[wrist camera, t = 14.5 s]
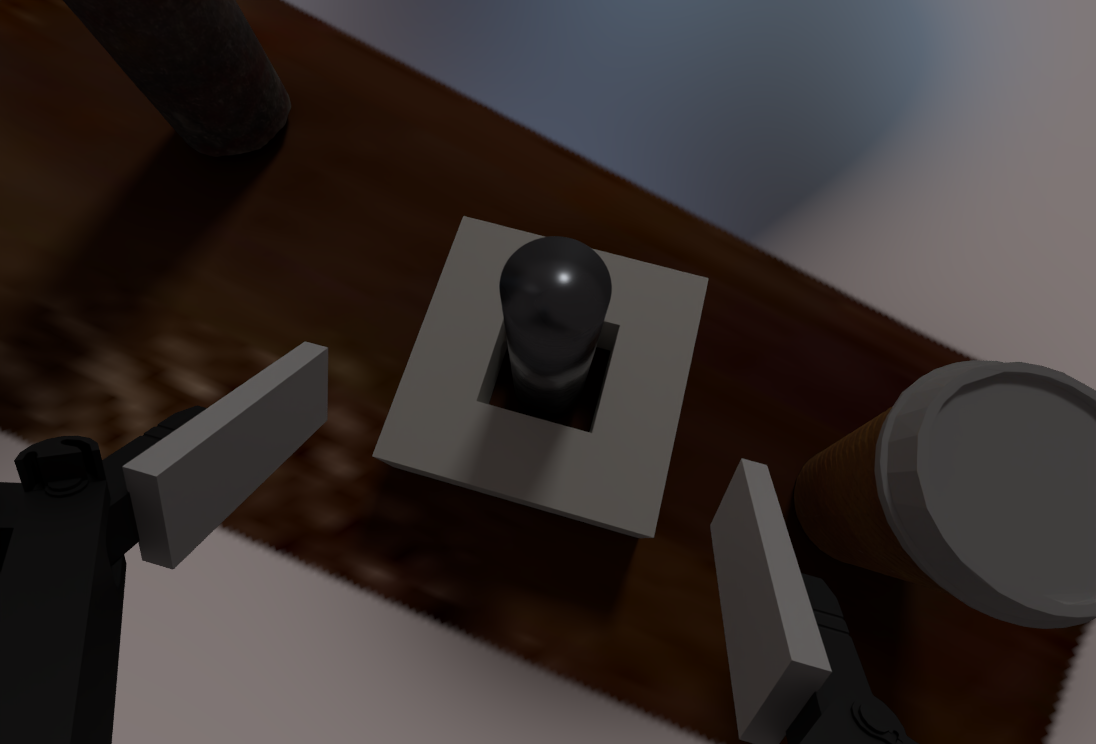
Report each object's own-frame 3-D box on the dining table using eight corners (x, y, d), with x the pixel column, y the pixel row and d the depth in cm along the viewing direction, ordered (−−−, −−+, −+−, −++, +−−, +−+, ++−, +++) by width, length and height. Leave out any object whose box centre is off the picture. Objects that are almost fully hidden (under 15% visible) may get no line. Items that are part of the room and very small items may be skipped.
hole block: (393, 467, 30) (372, 456, 26) (472, 252, 34) (463, 215, 30) (638, 538, 29) (653, 537, 25) (689, 308, 33) (708, 278, 29)
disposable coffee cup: (728, 490, 30) (844, 458, 19) (843, 387, 32) (1014, 301, 20) (857, 638, 28) (1079, 704, 16) (973, 518, 30) (1245, 503, 18)
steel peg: (505, 408, 31) (484, 321, 19) (525, 345, 32) (518, 224, 20) (572, 427, 31) (596, 351, 19) (590, 363, 32) (623, 251, 20)
